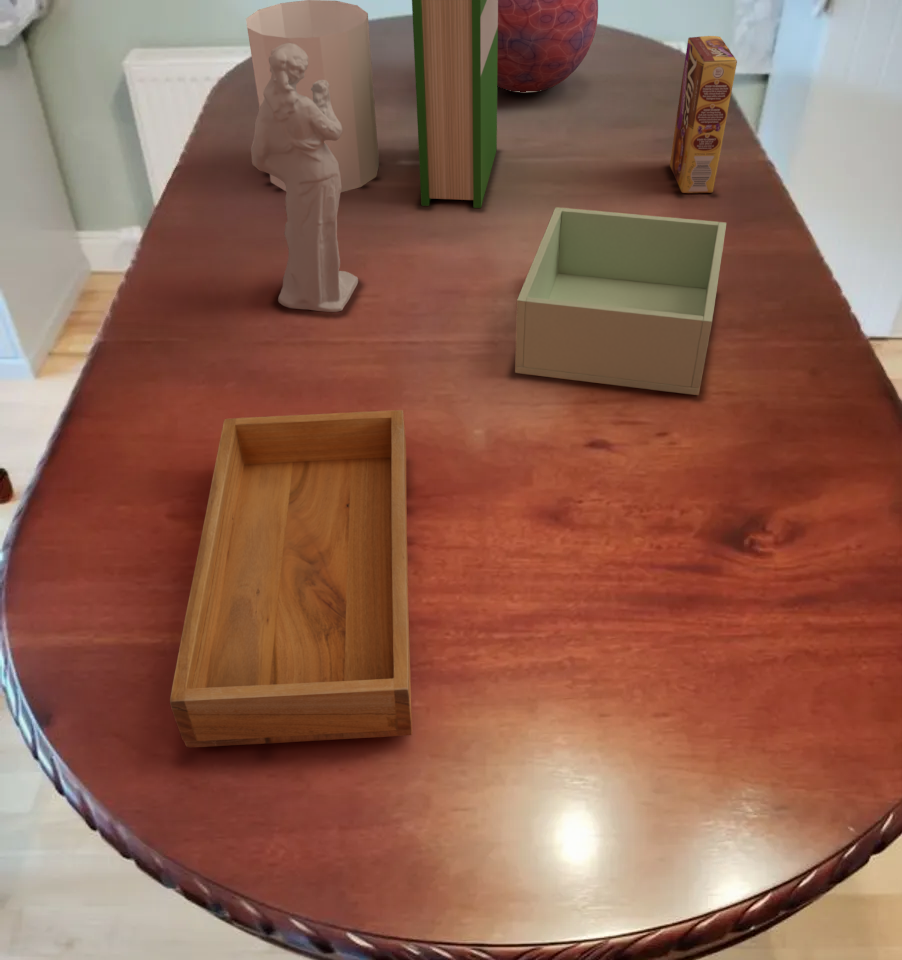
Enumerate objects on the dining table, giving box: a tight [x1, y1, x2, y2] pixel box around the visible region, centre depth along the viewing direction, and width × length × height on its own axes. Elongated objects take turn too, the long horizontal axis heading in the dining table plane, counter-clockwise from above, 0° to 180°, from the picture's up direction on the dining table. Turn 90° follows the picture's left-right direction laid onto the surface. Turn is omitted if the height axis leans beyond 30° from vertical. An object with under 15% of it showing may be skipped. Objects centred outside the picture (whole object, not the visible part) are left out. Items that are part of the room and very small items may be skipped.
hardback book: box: [411, 0, 498, 209], centre depth 120 cm, size 18×7×24 cm, turn 172°
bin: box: [514, 206, 727, 396], centre depth 99 cm, size 18×20×8 cm
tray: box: [169, 409, 413, 748], centre depth 75 cm, size 31×15×6 cm, turn 3°
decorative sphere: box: [497, 0, 599, 94], centre depth 143 cm, size 20×20×20 cm
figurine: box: [250, 43, 359, 313], centre depth 100 cm, size 10×10×25 cm
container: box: [245, 0, 380, 194], centre depth 124 cm, size 14×14×18 cm
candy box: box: [669, 35, 738, 194], centre depth 121 cm, size 9×4×15 cm, turn 1°
